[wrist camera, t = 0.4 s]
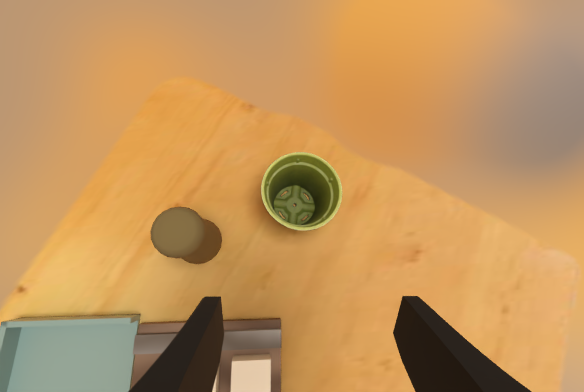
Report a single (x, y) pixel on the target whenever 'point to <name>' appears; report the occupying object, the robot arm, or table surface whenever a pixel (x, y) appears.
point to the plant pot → (301, 191)
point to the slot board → (237, 341)
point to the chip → (251, 373)
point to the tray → (68, 353)
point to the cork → (185, 235)
